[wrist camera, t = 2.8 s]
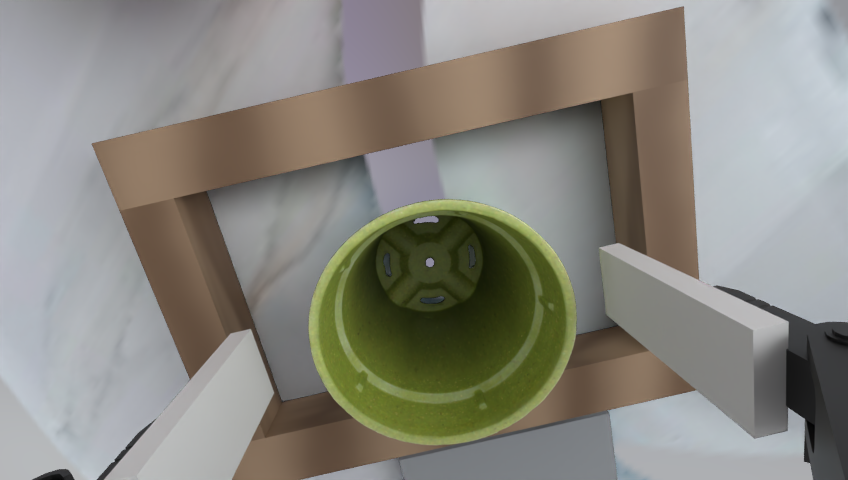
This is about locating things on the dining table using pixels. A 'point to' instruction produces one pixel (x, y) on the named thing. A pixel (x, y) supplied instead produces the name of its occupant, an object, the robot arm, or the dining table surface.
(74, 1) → the dining table surface
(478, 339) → the plant pot
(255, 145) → the open rectangular wooden frame
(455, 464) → the slate coaster
